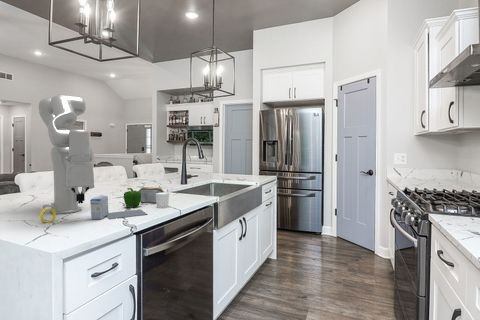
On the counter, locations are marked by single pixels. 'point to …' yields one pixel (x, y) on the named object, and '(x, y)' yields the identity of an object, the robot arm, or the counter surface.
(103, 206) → the medicine box
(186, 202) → the counter surface
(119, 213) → the mat
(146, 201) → the grey curved block
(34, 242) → the counter surface
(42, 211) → the yellow ring
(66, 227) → the counter surface
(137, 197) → the bell pepper
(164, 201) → the shot glass
